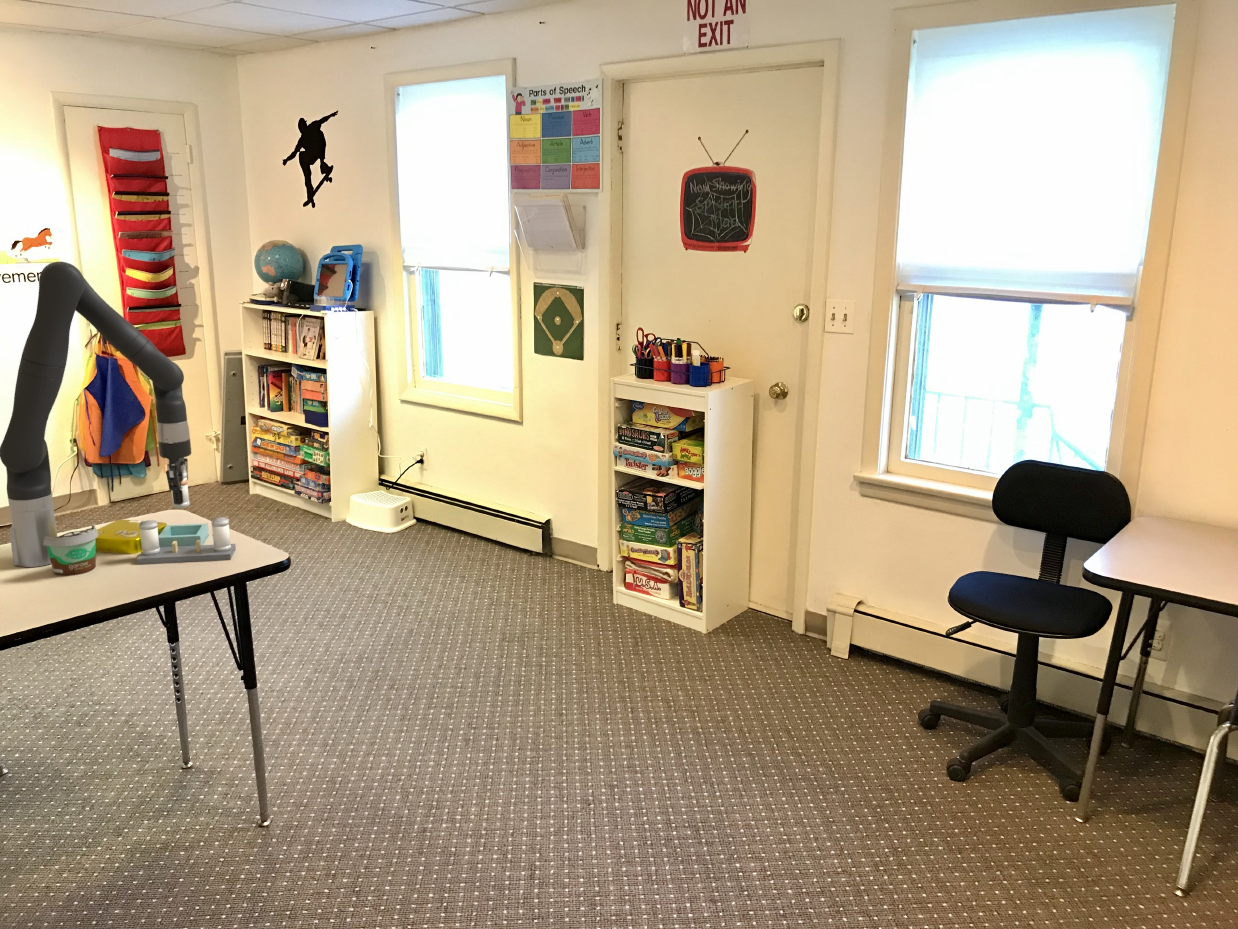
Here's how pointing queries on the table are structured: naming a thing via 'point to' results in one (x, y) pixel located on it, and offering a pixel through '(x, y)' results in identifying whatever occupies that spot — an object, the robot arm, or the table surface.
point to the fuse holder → (185, 553)
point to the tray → (183, 535)
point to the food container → (73, 552)
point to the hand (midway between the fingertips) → (180, 501)
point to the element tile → (122, 537)
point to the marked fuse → (185, 494)
